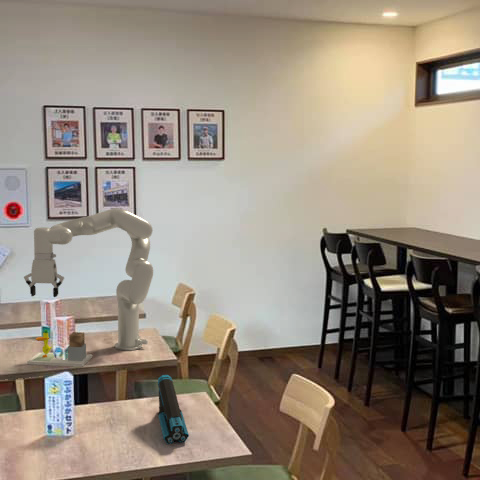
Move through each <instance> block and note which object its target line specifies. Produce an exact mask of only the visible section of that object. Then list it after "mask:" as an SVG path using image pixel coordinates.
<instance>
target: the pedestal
mask: <svg viewBox="0 0 480 480" xmlns="http://www.w3.org/2000/svg"><path fill="white" fill-rule="evenodd" d="M67 354H68V361H82V360H84V359H85V358H86V354H87V343H85V344H84V345H83V346H82V347H69V345H68V346H67Z"/></svg>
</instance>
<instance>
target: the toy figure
mask: <svg viewBox="0 0 480 480" xmlns="http://www.w3.org/2000/svg"><path fill="white" fill-rule="evenodd" d="M35 340H36V341H38V342H42V341H43V346H42V353H44V354H45V355H43V358H45V357H47V354H48V353H50V351H51V349H52V348H53V346H50V345H49V340H50V337H49V329H44V330H43V334H42V336H39V337H36V338H35Z"/></svg>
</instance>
